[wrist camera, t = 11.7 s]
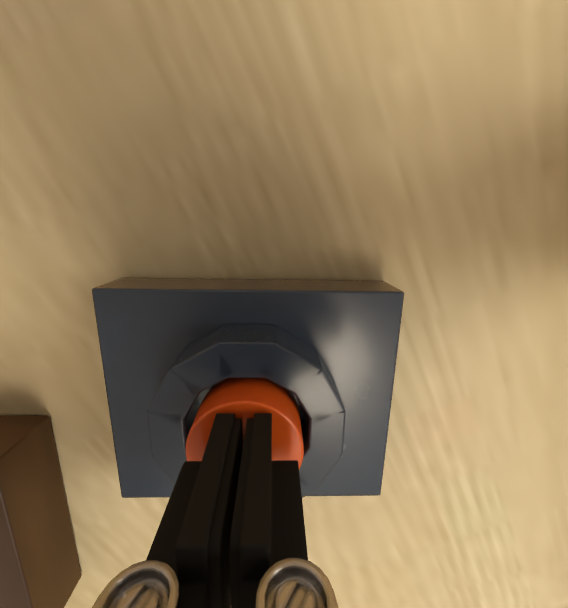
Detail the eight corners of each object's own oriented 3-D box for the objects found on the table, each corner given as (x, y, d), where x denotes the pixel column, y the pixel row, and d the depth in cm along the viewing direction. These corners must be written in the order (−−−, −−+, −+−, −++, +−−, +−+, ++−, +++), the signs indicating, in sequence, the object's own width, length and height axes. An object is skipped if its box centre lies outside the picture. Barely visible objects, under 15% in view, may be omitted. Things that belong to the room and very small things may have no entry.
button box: (142, 459, 15) (97, 541, 11) (121, 277, 13) (54, 301, 9) (366, 458, 15) (396, 537, 12) (384, 280, 13) (429, 305, 9)
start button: (201, 461, 11) (188, 502, 10) (196, 372, 11) (180, 401, 9) (298, 460, 12) (302, 501, 10) (301, 373, 11) (306, 401, 9)
